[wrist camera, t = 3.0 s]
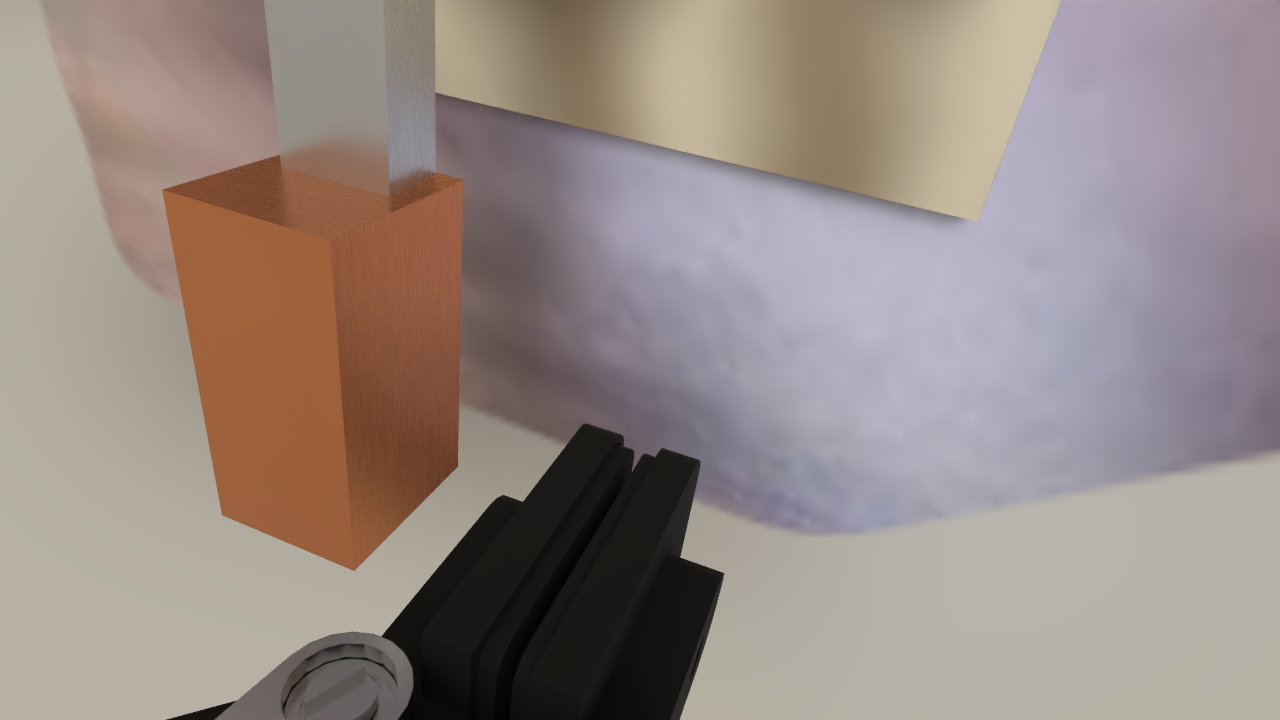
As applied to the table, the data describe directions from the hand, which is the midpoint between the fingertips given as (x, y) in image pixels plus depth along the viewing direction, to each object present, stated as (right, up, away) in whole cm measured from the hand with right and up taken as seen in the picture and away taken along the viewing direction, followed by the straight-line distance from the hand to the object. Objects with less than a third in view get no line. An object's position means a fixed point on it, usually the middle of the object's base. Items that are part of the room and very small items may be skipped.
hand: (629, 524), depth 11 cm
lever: (-4, +7, +2) cm, 8 cm away
